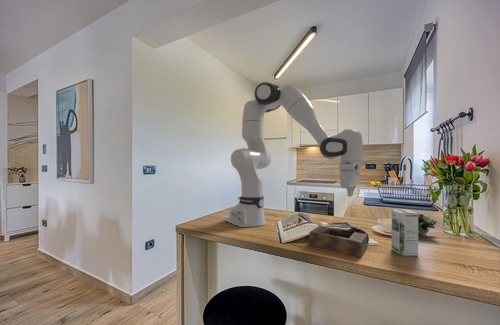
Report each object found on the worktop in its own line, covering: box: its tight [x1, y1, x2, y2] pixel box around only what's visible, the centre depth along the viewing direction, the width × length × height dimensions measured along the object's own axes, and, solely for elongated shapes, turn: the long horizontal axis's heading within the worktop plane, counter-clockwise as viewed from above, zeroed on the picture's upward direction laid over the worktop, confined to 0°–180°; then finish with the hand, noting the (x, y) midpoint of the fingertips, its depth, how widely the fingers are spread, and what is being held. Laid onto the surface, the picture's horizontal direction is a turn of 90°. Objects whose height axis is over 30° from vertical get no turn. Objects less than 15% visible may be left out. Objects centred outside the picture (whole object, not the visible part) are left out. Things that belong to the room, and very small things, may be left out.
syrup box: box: [391, 208, 419, 257], centre depth 75 cm, size 6×6×14 cm
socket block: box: [308, 225, 368, 258], centre depth 81 cm, size 18×10×5 cm, turn 52°
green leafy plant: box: [418, 213, 437, 240], centre depth 91 cm, size 11×11×12 cm
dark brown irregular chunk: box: [323, 226, 370, 245], centre depth 88 cm, size 18×7×6 cm, turn 49°
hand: (350, 196), depth 98 cm, fingers closed
